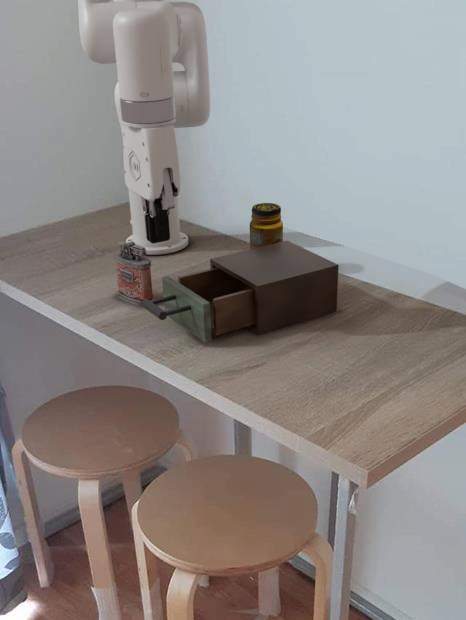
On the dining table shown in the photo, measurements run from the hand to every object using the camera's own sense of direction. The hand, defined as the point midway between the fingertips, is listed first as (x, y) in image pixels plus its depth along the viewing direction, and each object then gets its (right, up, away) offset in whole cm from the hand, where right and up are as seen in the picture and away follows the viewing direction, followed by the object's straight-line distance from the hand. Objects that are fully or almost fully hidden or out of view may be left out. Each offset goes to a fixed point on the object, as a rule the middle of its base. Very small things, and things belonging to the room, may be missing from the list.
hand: (158, 240), depth 125 cm
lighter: (-6, -5, +19) cm, 20 cm away
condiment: (+17, +2, +28) cm, 33 cm away
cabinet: (+18, -7, +14) cm, 24 cm away
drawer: (+7, -11, +8) cm, 15 cm away
